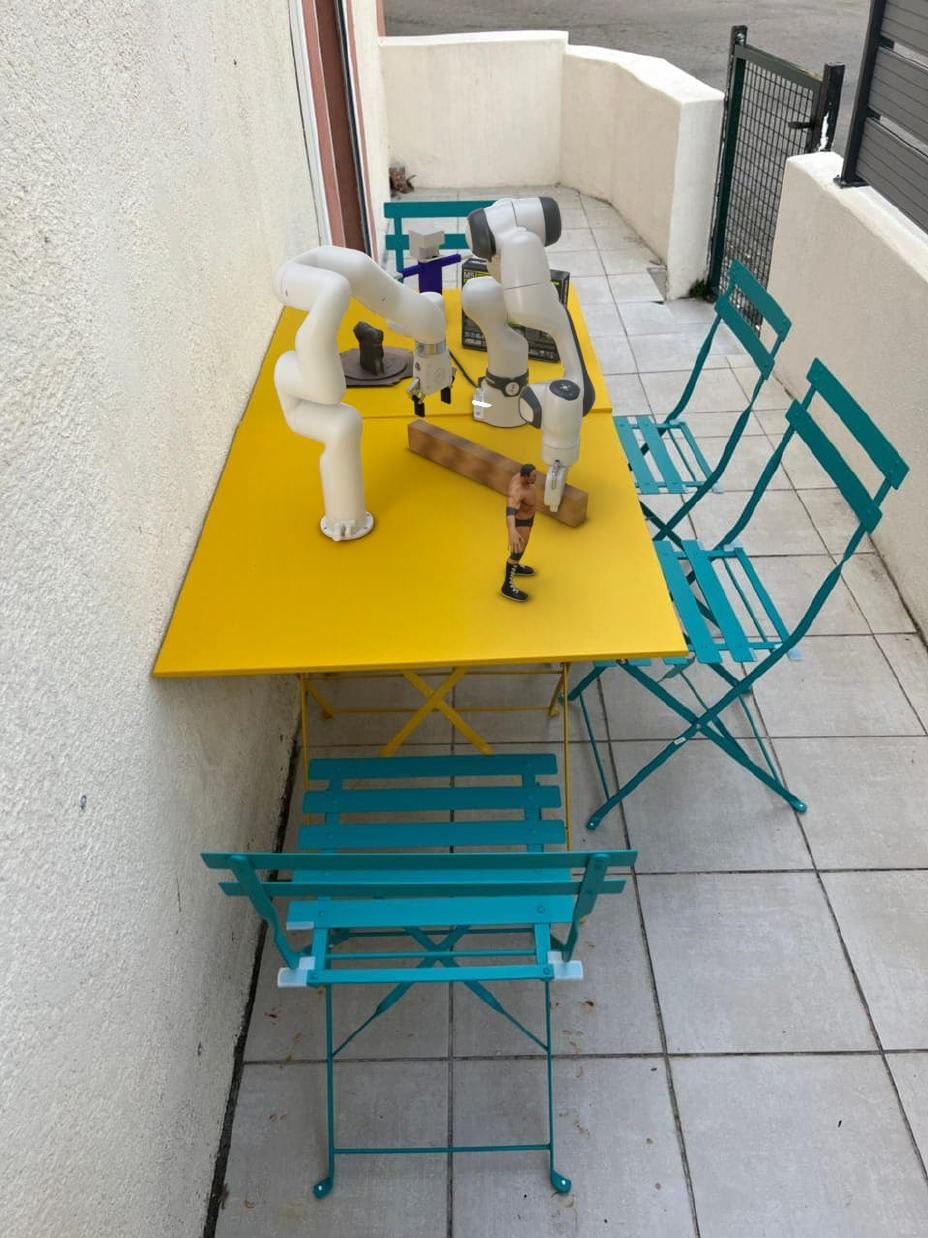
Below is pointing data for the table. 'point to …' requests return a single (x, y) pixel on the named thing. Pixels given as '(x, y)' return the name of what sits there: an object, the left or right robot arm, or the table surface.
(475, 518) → the table surface
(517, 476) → the figurine
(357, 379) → the sculpture
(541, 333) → the box
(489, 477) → the post
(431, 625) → the table surface
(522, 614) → the table surface
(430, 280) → the toy
